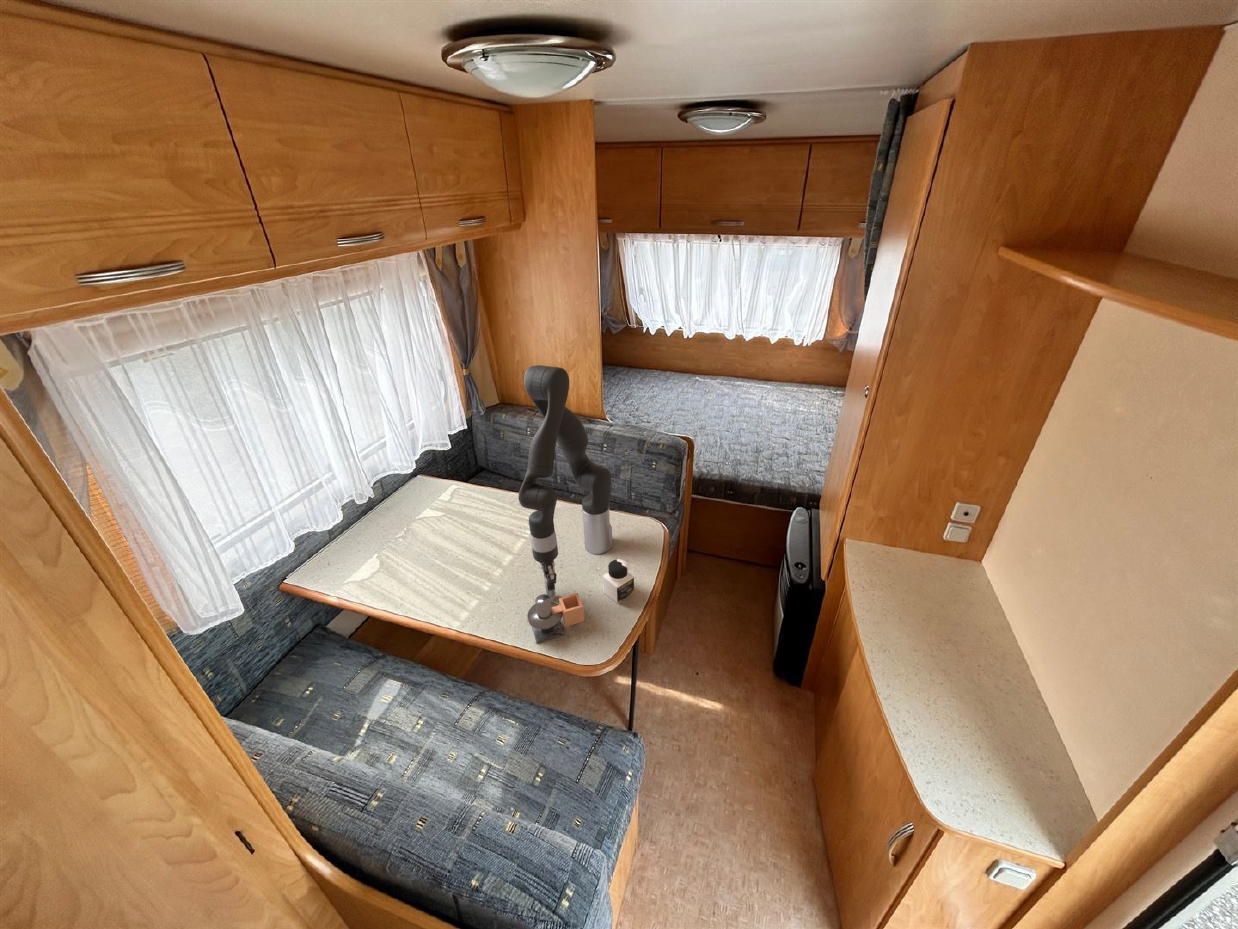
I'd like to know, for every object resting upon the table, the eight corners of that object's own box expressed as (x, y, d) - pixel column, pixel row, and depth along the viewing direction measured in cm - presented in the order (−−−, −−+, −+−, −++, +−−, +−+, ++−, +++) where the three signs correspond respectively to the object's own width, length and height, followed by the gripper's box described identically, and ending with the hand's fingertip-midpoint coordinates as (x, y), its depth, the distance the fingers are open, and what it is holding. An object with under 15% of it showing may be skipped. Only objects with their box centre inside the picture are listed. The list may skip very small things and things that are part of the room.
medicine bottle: (617, 604, 160) (616, 575, 154) (603, 592, 164) (601, 563, 158) (634, 593, 164) (634, 564, 157) (619, 581, 168) (619, 553, 162)
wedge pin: (554, 589, 164) (551, 563, 158) (557, 595, 161) (553, 569, 155) (545, 591, 163) (541, 566, 157) (547, 598, 160) (543, 572, 155)
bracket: (578, 607, 156) (577, 592, 153) (584, 621, 152) (583, 606, 149) (550, 615, 154) (548, 601, 151) (555, 629, 149) (553, 615, 146)
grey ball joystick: (558, 612, 157) (555, 583, 151) (567, 636, 149) (564, 607, 143) (526, 621, 154) (522, 592, 148) (533, 647, 146) (529, 617, 140)
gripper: (562, 554, 147) (567, 597, 156) (550, 526, 158) (555, 567, 167) (537, 561, 144) (543, 604, 153) (526, 532, 156) (533, 574, 165)
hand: (549, 585), depth 160 cm, fingers closed on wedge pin, 3 cm apart
